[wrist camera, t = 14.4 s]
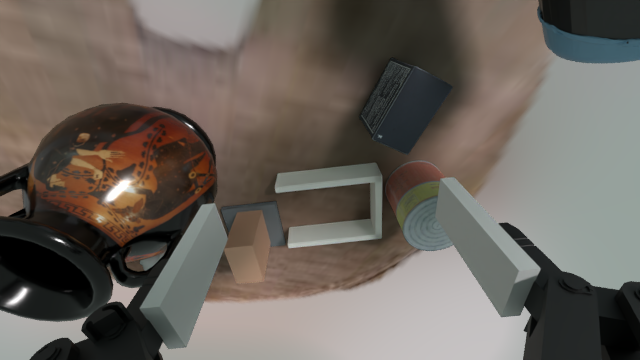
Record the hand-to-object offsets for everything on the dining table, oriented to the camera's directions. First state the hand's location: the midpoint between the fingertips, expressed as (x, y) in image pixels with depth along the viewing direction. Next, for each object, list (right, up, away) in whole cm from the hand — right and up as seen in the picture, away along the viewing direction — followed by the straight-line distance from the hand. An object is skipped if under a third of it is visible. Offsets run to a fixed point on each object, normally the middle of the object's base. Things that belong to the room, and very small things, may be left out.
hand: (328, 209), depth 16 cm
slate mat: (-14, -8, +41) cm, 44 cm away
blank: (-14, -8, +40) cm, 43 cm away
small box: (+11, +16, +28) cm, 34 cm away
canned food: (+18, +1, +37) cm, 41 cm away
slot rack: (+1, -2, +38) cm, 38 cm away
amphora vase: (-27, +7, +32) cm, 42 cm away
